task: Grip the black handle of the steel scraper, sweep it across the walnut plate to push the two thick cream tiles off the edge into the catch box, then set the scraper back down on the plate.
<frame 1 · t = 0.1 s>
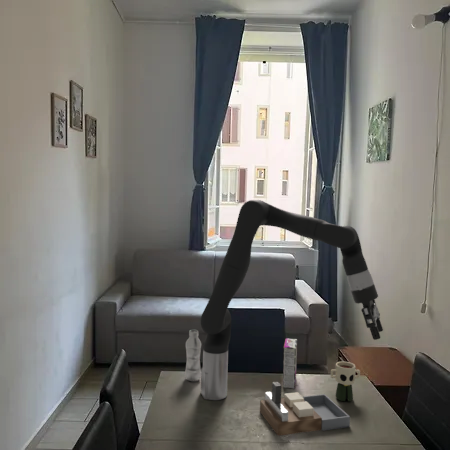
hand: (378, 335, 144), 31 cm above the table, tool tilted 20°, fingers open, 8 cm apart
character mug: (344, 399, 169), on the table
catch box: (323, 416, 155), on the table
cream tile 2: (302, 412, 149), point 4 cm above the table, touching walnut plate
walnut plate: (289, 420, 152), on the table
cream tile 1: (293, 403, 155), point 4 cm above the table, touching walnut plate
plastic bottle: (192, 380, 182), on the table
steel scraper: (275, 410, 150), point 4 cm above the table, touching walnut plate
candy bar box: (289, 383, 182), on the table
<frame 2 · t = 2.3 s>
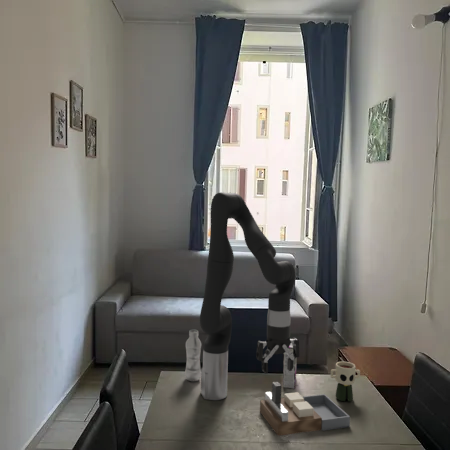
hand: (277, 371, 149), 17 cm above the table, tool pointing down, fingers open, 8 cm apart
nothing on the table moved.
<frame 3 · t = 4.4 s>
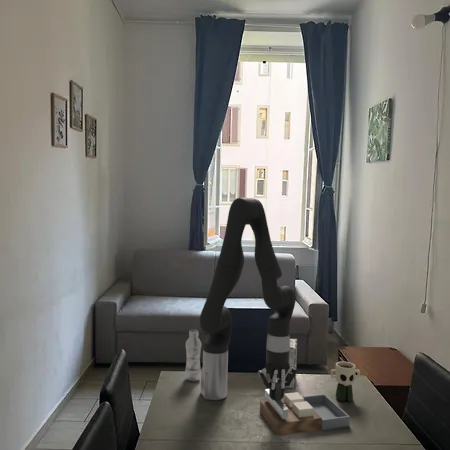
hand: (276, 398, 150), 8 cm above the table, tool pointing down, fingers closed on steel scraper, 2 cm apart
steel scraper: (275, 407, 150), point 5 cm above the table, touching gripper
everything else where it was.
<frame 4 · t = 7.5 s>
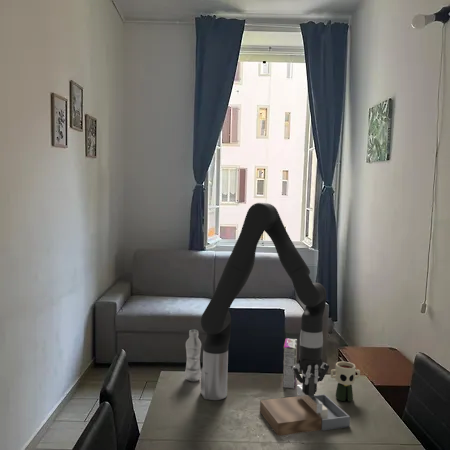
hand: (309, 393, 153), 9 cm above the table, tool pointing down, fingers closed on steel scraper, 2 cm apart
cream tile 2: (317, 413, 150), point 3 cm above the table, tilted 90°, touching catch box
cream tile 1: (307, 404, 157), point 3 cm above the table, tilted 90°, touching catch box
steel scraper: (308, 402, 153), point 6 cm above the table, touching gripper
everything else where it was.
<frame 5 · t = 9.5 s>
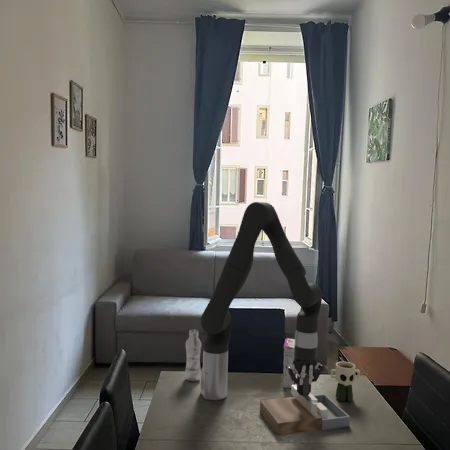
hand: (303, 393, 153), 8 cm above the table, tool pointing down, fingers closed on steel scraper, 2 cm apart
steel scraper: (303, 402, 153), point 5 cm above the table, touching gripper
everything else where it was.
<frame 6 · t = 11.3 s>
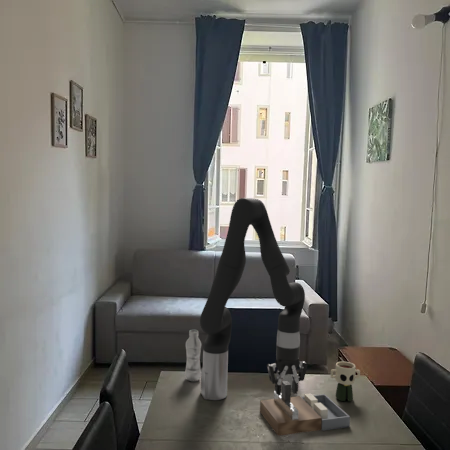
hand: (286, 393, 150), 9 cm above the table, tool pointing down, fingers open, 5 cm apart
steel scraper: (285, 409, 151), point 4 cm above the table, touching walnut plate
everything else where it was.
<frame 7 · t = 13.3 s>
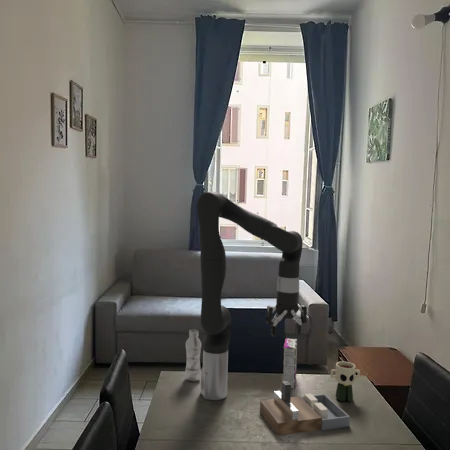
hand: (285, 335, 157), 26 cm above the table, tool pointing down, fingers open, 8 cm apart
nothing on the table moved.
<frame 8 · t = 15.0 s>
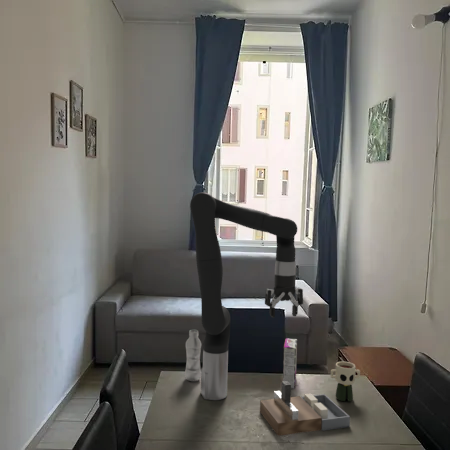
hand: (283, 316, 168), 30 cm above the table, tool pointing down, fingers open, 8 cm apart
nothing on the table moved.
at the end: cream tile 1 inside the target area on the catch box (5.6 cm from its centre), point 3.0 cm above the catch box's base; cream tile 2 inside the target area on the catch box (5.5 cm from its centre), point 3.0 cm above the catch box's base; steel scraper inside the target area (1.6 cm from its centre), point 4.0 cm above the table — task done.
